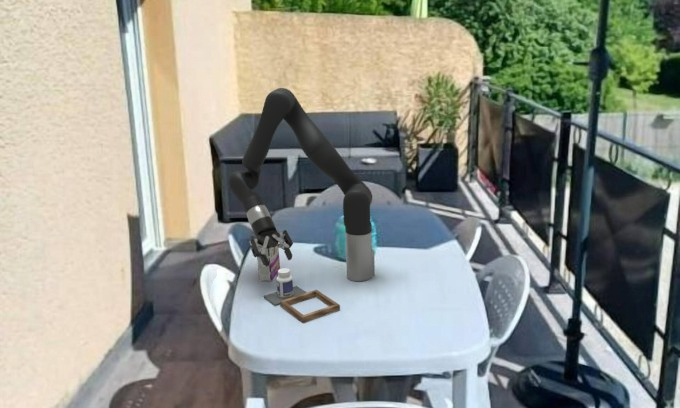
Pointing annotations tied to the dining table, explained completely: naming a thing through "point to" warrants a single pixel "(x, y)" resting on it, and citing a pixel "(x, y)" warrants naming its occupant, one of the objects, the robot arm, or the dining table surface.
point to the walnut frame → (303, 318)
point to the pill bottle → (284, 283)
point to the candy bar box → (273, 267)
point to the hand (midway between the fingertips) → (279, 262)
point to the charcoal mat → (275, 299)
